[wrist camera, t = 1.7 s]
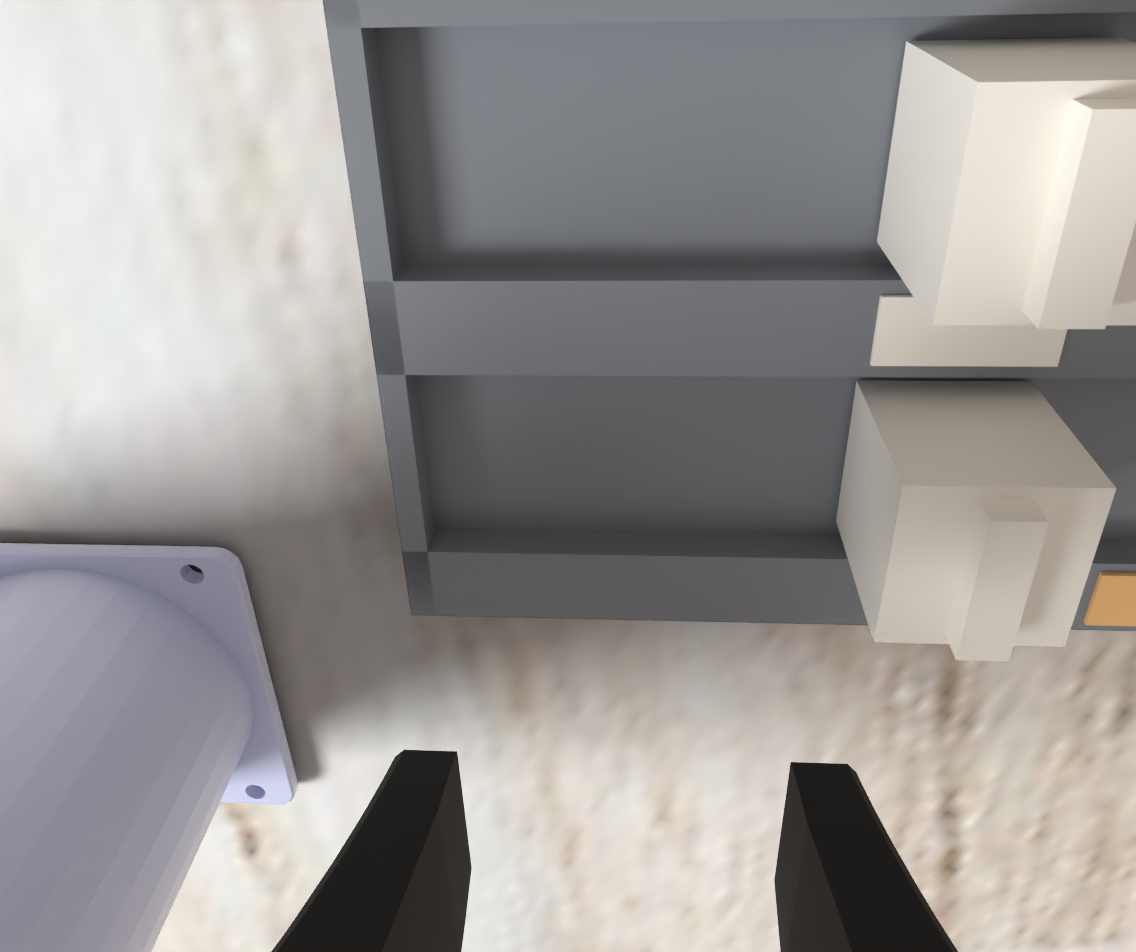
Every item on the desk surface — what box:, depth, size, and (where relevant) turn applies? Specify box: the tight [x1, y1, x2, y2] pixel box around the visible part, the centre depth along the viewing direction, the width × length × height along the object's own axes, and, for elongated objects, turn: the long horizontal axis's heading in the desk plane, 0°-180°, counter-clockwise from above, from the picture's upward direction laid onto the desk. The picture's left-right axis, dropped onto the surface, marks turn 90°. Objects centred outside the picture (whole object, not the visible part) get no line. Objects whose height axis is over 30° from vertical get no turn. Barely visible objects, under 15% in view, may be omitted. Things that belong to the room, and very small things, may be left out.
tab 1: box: [877, 37, 1136, 329], centre depth 13 cm, size 3×3×4 cm
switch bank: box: [323, 0, 1136, 631], centre depth 15 cm, size 17×18×2 cm
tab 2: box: [836, 380, 1116, 662], centre depth 16 cm, size 3×3×4 cm
